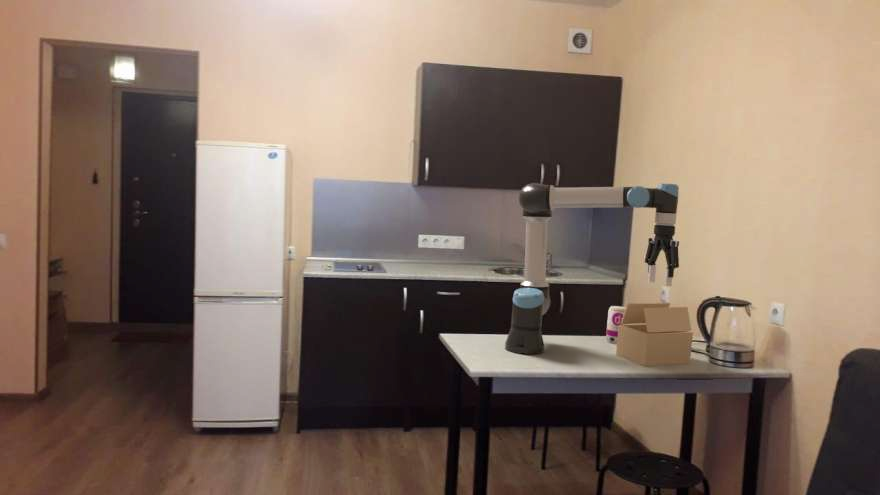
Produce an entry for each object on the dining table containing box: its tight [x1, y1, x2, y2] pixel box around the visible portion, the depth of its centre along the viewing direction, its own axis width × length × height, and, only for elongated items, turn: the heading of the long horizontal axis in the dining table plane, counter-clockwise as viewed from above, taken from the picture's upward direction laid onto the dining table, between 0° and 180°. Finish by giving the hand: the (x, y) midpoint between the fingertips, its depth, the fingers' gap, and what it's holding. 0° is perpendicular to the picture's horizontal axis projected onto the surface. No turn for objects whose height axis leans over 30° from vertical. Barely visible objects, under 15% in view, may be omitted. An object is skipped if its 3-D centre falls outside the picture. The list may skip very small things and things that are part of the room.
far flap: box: [621, 302, 671, 325], centre depth 250 cm, size 21×9×1 cm
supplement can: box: [605, 305, 628, 345], centre depth 272 cm, size 8×8×15 cm
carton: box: [615, 323, 694, 367], centre depth 246 cm, size 22×16×12 cm
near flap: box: [644, 306, 692, 332], centre depth 239 cm, size 21×9×1 cm
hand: (659, 283), depth 244 cm, fingers open, 8 cm apart
